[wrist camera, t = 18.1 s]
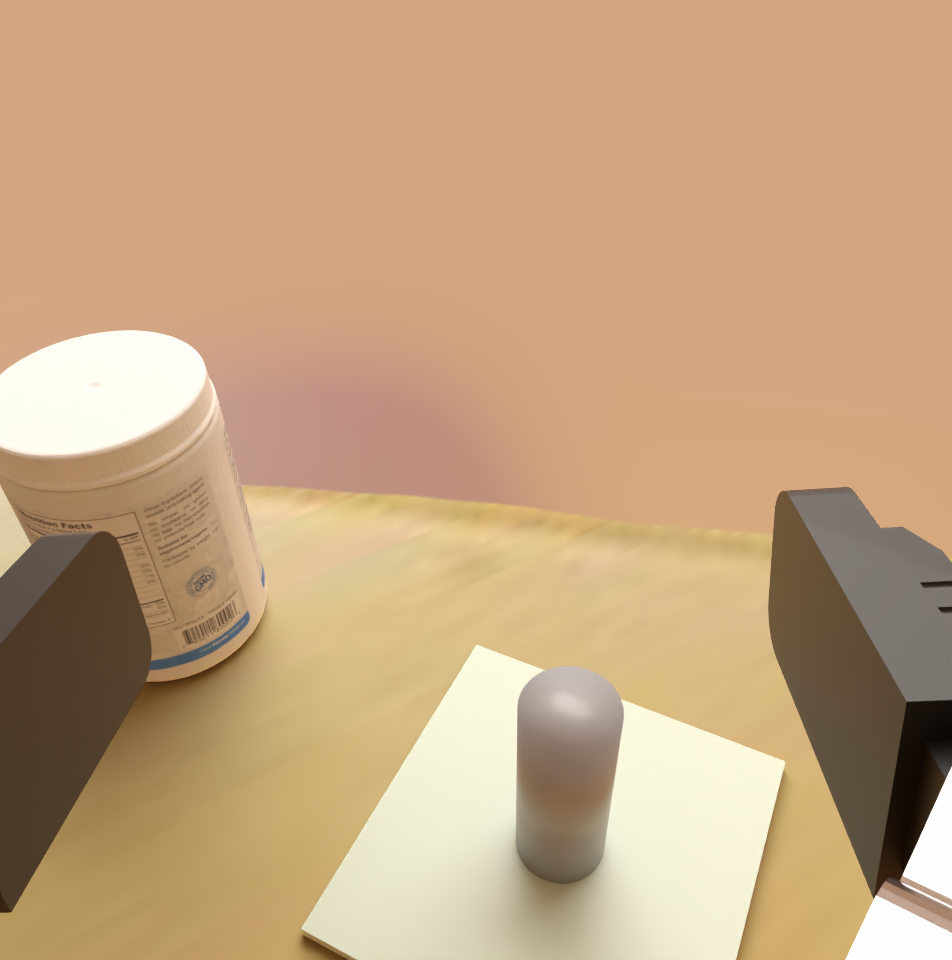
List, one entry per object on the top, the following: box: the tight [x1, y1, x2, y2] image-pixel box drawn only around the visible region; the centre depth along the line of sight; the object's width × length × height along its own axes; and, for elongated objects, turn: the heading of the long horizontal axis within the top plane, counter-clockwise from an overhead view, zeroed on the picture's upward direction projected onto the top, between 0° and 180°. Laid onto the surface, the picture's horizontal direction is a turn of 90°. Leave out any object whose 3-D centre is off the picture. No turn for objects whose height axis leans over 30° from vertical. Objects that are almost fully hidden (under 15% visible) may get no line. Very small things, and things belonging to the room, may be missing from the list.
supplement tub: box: [0, 330, 267, 682], centre depth 41 cm, size 10×10×15 cm
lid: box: [301, 645, 785, 960], centre depth 33 cm, size 15×15×10 cm
